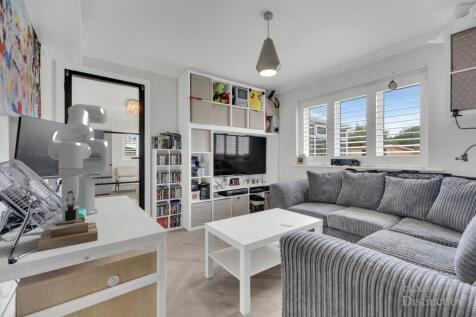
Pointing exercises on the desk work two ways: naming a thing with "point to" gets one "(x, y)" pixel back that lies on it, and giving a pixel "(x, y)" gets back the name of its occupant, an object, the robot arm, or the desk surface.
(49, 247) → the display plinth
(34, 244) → the desk surface
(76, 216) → the sage block
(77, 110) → the robot arm
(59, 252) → the desk surface
